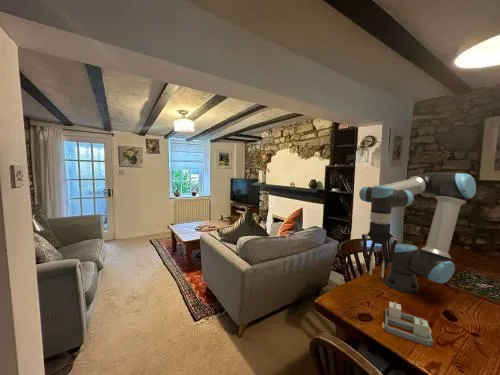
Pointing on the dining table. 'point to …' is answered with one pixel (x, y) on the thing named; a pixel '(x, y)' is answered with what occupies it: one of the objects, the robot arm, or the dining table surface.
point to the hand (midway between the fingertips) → (376, 274)
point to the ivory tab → (395, 310)
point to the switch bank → (406, 326)
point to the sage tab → (420, 328)
